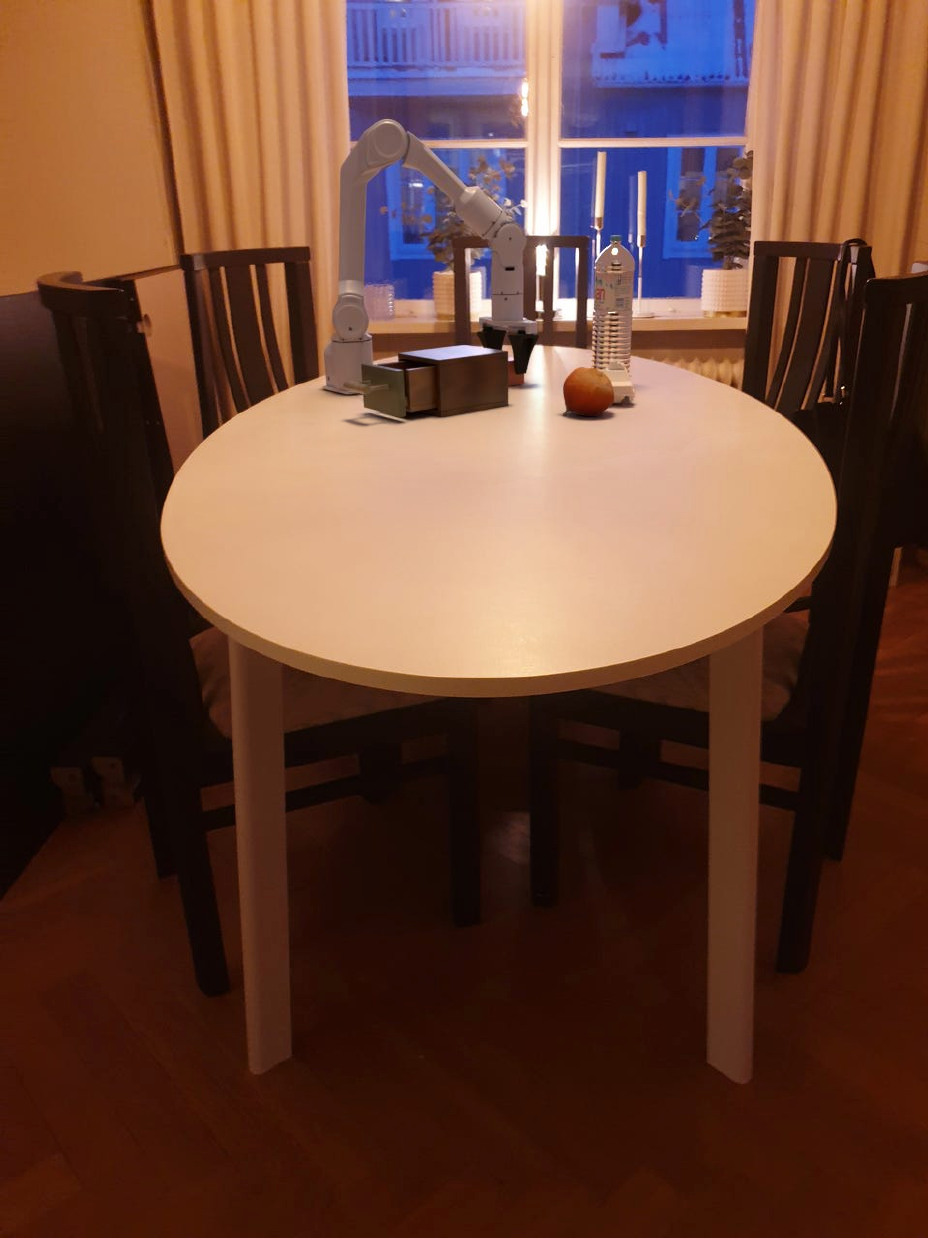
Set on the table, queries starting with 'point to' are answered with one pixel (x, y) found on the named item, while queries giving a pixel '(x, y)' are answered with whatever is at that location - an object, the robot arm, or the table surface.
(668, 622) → the table surface
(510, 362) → the block
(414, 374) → the drawer
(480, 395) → the cabinet
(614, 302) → the water bottle
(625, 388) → the toy car
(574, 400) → the fruit
